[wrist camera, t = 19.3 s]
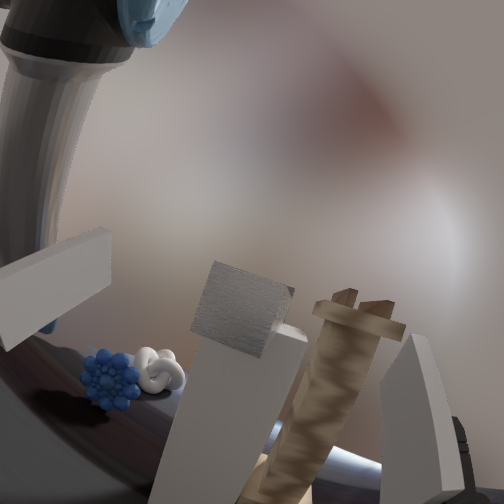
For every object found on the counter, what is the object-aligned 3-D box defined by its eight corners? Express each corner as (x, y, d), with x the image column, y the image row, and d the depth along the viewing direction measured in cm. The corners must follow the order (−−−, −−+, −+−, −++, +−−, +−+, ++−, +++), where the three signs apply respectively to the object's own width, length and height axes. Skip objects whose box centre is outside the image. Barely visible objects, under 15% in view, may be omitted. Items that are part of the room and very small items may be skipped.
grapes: (142, 416, 42) (158, 360, 43) (125, 430, 35) (141, 369, 36) (90, 387, 43) (103, 332, 44) (70, 395, 36) (81, 335, 38)
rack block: (144, 513, 19) (211, 308, 22) (178, 473, 30) (238, 307, 33) (211, 542, 17) (308, 342, 21) (232, 494, 28) (304, 330, 31)
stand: (236, 504, 26) (331, 281, 30) (251, 459, 40) (320, 289, 44) (306, 522, 24) (411, 307, 28) (305, 474, 38) (378, 307, 42)
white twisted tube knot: (184, 389, 62) (195, 357, 63) (171, 407, 50) (183, 371, 51) (142, 371, 62) (152, 339, 64) (122, 385, 51) (132, 348, 52)
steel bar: (189, 330, 11) (222, 237, 12) (260, 314, 34) (271, 283, 35) (259, 358, 10) (294, 260, 11) (283, 322, 34) (294, 291, 34)
